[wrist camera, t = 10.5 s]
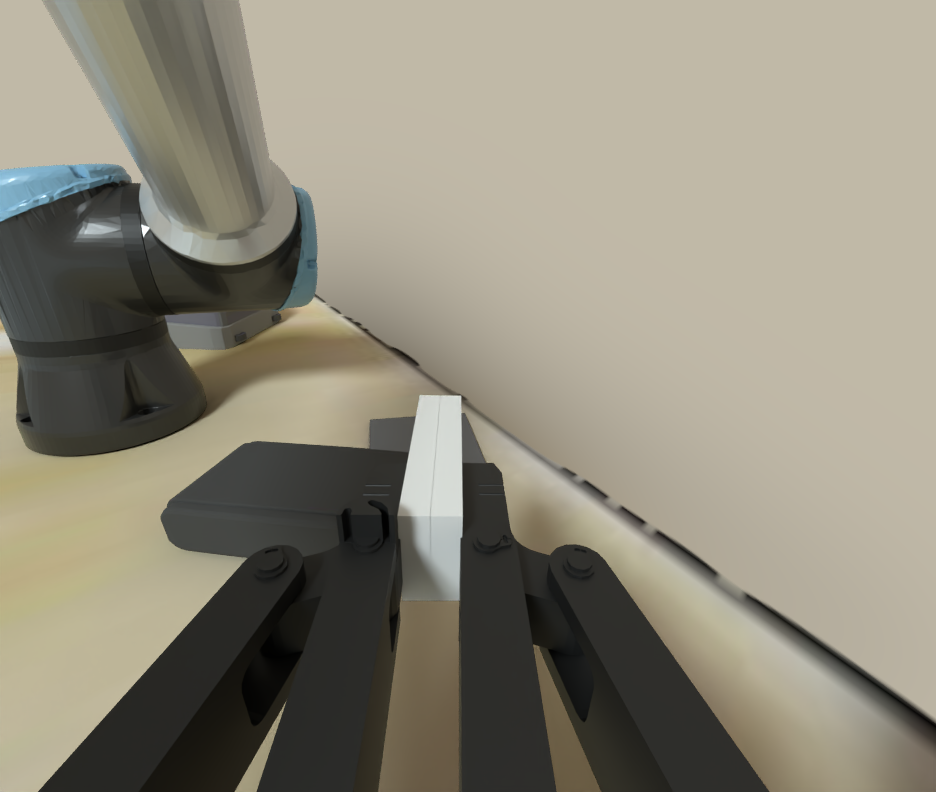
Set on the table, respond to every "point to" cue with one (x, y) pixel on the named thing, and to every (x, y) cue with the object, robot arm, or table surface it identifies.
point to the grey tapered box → (218, 328)
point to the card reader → (271, 498)
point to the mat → (400, 430)
